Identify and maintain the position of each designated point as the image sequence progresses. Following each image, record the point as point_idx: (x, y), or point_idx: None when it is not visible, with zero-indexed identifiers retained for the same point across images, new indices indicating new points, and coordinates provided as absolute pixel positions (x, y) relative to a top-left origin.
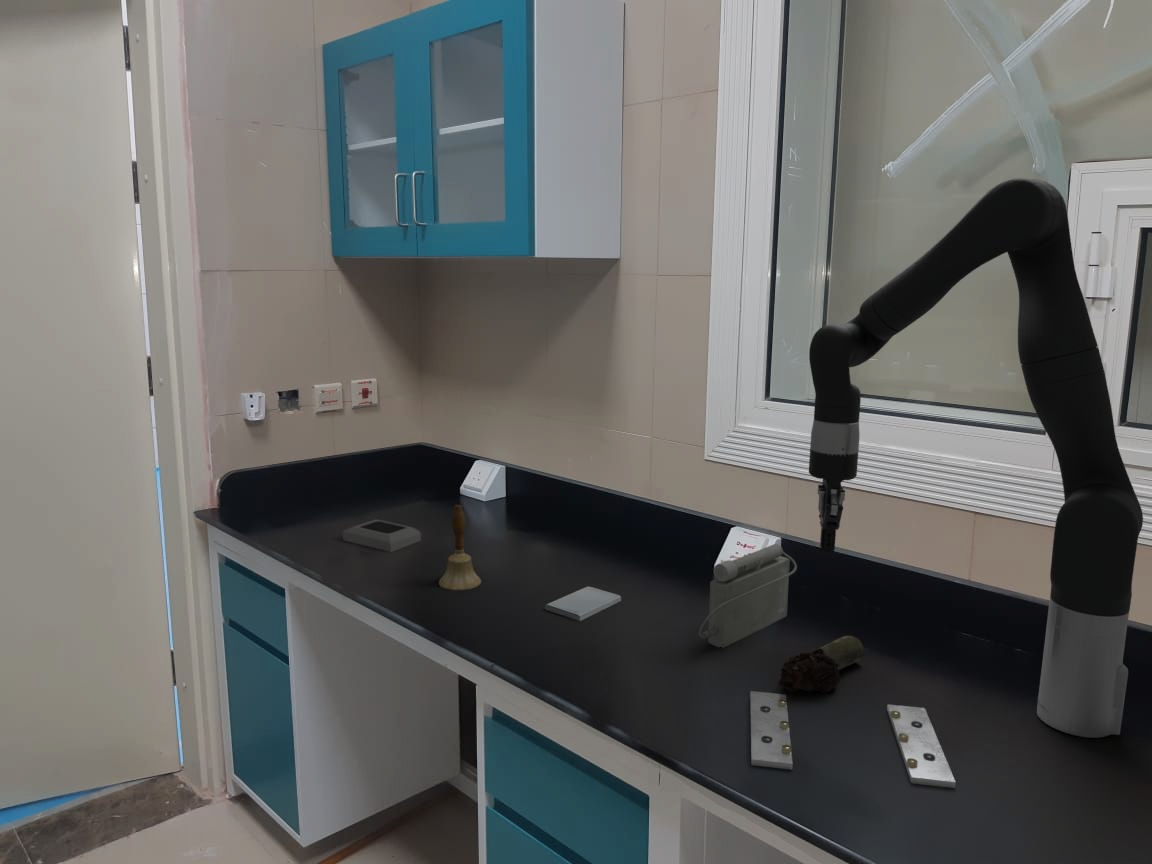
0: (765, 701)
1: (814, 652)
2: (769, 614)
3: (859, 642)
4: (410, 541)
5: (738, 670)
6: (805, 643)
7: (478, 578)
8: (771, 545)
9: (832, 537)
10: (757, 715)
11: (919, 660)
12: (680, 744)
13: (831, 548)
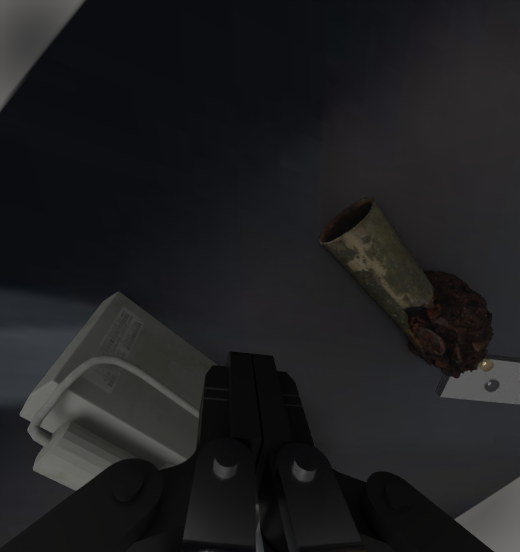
0: (471, 382)
1: (407, 316)
2: (170, 345)
3: (375, 213)
4: None
5: (357, 397)
6: (259, 282)
7: None
8: (55, 479)
9: (304, 425)
10: (502, 395)
11: (351, 46)
12: (517, 461)
13: (286, 378)
